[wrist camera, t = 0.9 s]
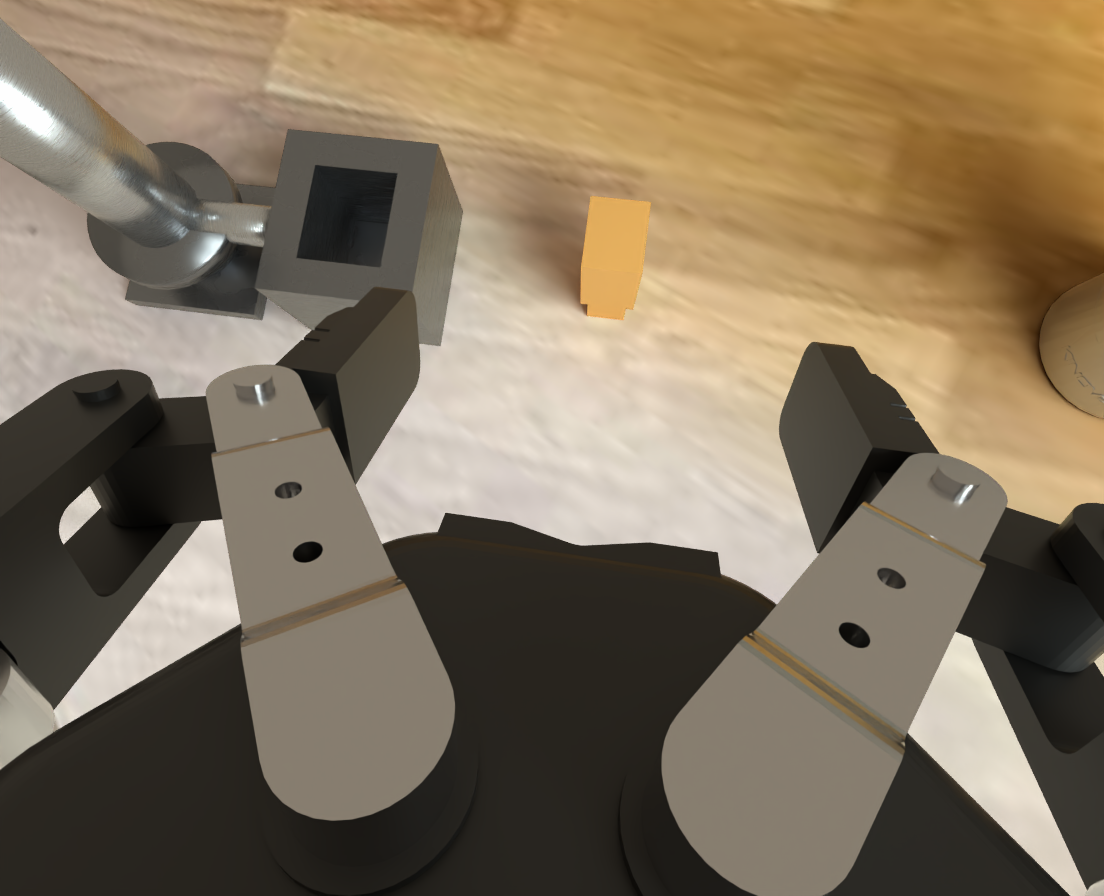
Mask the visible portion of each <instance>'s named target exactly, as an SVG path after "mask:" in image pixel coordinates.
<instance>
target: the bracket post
mask: <svg viewBox="0 0 1104 896" xmlns="http://www.w3.org/2000/svg"><path fill="white" fill-rule="evenodd" d="M0 157H1V158H3V159H5V160H6V161H8V162H9V163H11V164H12V165H14V166H16V167H17V168H19V169H20V170H22V171H23V172H25V173H27V174H28V175H30V176H31V177H33V178H35V179H36V180H38V181H39V182H41V183H42V184H44V185H46V186H47V187H49V188H50V189H52V190H53V191H55V192H57V193H58V194H60V195H61V196H63V197H64V198H66V199H68V200H69V201H71V202H72V203H74V204H75V205H77V206H79V207H80V208H82V209H83V210H85V211H86V212H88V214H87V225H88V233H89V237H90V240H91V243H92V245H93V248H94V249H95V251H96V253H97V255H98V256H99V257H100V258H101V260H102V261H103V262H104V263H105V264H106V265H107V266H108V267H109V268H111V269H112V270H114V271H115V272H117V273H118V274H120V275H122V276H124V277H126V278H128V279H129V280H130V281H129V286H128V290H127V294H126V298H125V300H127V301H129V302H131V303H134V304H136V305H141V306H149V307H157V308H165V309H174V310H182V311H190V312H199V313H207V314H215V315H224V316H232V317H240V318H248V319H257V320H262V319H263V314H264V309H265V304H266V299H267V298H269V299H270V300H271V301H273V302H274V303H275V304H277V305H278V306H280V307H281V308H282V309H284V310H285V311H286V312H288V313H289V314H290V315H292V316H293V317H295V318H296V319H297V320H299V321H300V322H301V323H303V324H304V325H306V326H307V327H308V328H310V329H311V330H315V327H316V326H317V325H318V324H319V323H320V322H321V321H322V320H323V319H324V318H326V317H327V316H328V315H330V314H333V313H335V312H337V311H339V310H342V309H344V308H346V307H354V306H355V305H356V304H357V303H358V302H359V301H360V300H361V299H362V298H363V297H364V296H365V295H366V294H367V293H368V292H369V291H370V290H371V289H372V288H373V287H383V288H391V289H399V290H407V291H411V292H412V293H413V294H414V297H415V301H416V309H417V323H418V337H419V344H428V345H436V346H440V345H441V339H442V333H443V327H444V321H445V315H446V309H447V303H448V297H449V291H450V285H451V279H452V273H453V267H454V261H455V255H456V249H457V243H458V237H459V231H460V225H461V219H462V213H463V210H462V208H461V205H460V202H459V199H458V197H457V194H456V191H455V189H454V186H453V183H452V180H451V178H450V175H449V172H448V169H447V167H446V164H445V161H444V159H443V156H442V153H441V150H440V148H439V145H438V144H432V143H422V142H412V141H402V140H392V139H382V138H371V137H361V136H351V135H341V134H331V133H321V132H311V131H301V130H291V129H288V131H287V136H286V141H285V146H284V150H283V155H282V160H281V165H280V169H279V174H278V179H277V184H276V188H271V187H262V186H252V185H243V184H235V182H234V181H233V179H232V178H231V177H230V176H229V174H228V173H227V172H226V171H225V170H224V169H223V168H222V167H221V166H220V165H219V164H218V163H217V162H216V161H215V160H214V159H213V158H211V157H210V156H209V155H208V154H206V153H205V152H203V151H202V150H200V149H198V148H195V147H193V146H190V145H187V144H183V143H177V142H160V143H153V144H149V145H144V144H143V143H142V142H141V141H140V140H139V139H137V138H136V137H135V136H134V135H133V134H132V133H131V132H129V131H128V130H127V129H126V128H125V127H124V126H123V125H121V124H120V123H119V122H118V121H117V120H116V119H115V118H113V117H112V116H111V115H110V114H109V113H108V112H107V111H105V110H104V109H103V108H102V107H101V106H100V105H99V104H97V103H96V102H95V101H94V100H93V99H92V98H91V97H89V96H88V95H87V94H86V93H85V92H84V91H83V90H81V89H80V88H79V87H78V86H77V85H76V84H75V83H73V82H72V81H71V80H70V79H69V78H68V77H67V76H65V75H64V74H63V73H62V72H61V71H60V70H59V69H57V68H56V67H55V66H54V65H53V64H52V63H51V62H49V61H48V60H47V59H46V58H45V57H44V56H43V55H41V54H40V53H39V52H38V51H37V50H36V49H35V48H33V47H32V46H31V45H30V44H29V43H28V42H27V41H25V40H24V39H23V38H22V37H21V36H20V35H19V34H17V33H16V32H15V31H14V30H13V29H12V28H11V27H9V26H8V25H7V24H6V23H5V22H4V21H3V20H1V19H0Z"/></svg>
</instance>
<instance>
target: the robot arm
mask: <svg viewBox="0 0 1104 896" xmlns="http://www.w3.org/2000/svg"><path fill="white" fill-rule="evenodd" d="M1039 347H1040V354H1041V360H1042V363H1043V365H1044V368H1045V371H1046V373H1047V375H1048V377H1049V378H1050V380H1051V381H1052V383H1053V385H1054V386H1055V388H1056V389H1057V390H1058V391H1059V392H1060V393H1061V394H1062V395H1063V396H1064V397H1065V398H1066V399H1067V400H1068V401H1069V402H1071V403H1072V404H1074V405H1075V406H1076V407H1078V408H1079V409H1081V410H1083V411H1085V412H1087V413H1089V414H1091V415H1094V416H1096V417H1100V418H1104V273H1102V274H1100V275H1098V276H1096V277H1094V278H1092V279H1089V280H1087V281H1085V282H1083V283H1081V284H1079V285H1077V286H1075V287H1073V288H1072V289H1070V290H1068V291H1067V292H1065V293H1064V294H1062V295H1061V296H1060V297H1059V298H1058V299H1057V300H1056V301H1055V302H1054V303H1053V304H1052V306H1051V307H1050V309H1049V311H1048V312H1047V314H1046V315H1045V317H1044V321H1043V324H1042V327H1041V330H1040V341H1039ZM419 373H420V350H419V337H418V323H417V309H416V301H415V297H414V294H413V293H412V292H411V291H407V290H399V289H391V288H383V287H373V288H372V289H371V290H370V291H369V292H368V293H367V294H366V295H365V296H364V297H363V298H362V299H361V300H360V301H359V302H358V303H357V304H356V305H355V306H354V307H346V308H344V309H342V310H339V311H337V312H335V313H333V314H330V315H328V316H327V317H326V318H324V319H323V320H322V321H321V322H320V323H319V324H318V325H317V326H316V327H315V330H312V331H311V332H310V333H308V334H307V335H306V336H305V337H304V340H301V341H300V342H299V343H298V344H297V345H296V346H295V347H294V348H293V349H291V350H290V351H289V352H288V353H287V354H286V355H285V356H284V357H283V358H282V359H281V360H280V361H279V362H278V363H277V364H275V365H254V366H247V367H242V368H238V369H235V370H232V371H229V372H227V373H225V374H223V375H221V376H219V377H218V378H216V379H215V380H213V381H212V382H211V383H210V384H209V386H208V387H207V390H206V396H201V397H182V398H162V399H159V398H158V395H157V393H156V390H155V388H154V385H153V383H152V381H151V379H150V377H148V376H147V375H146V374H144V373H141V372H138V371H133V370H122V369H120V370H105V371H98V372H93V373H89V374H85V375H82V376H78V377H75V378H73V379H70V380H68V381H66V382H64V383H61V384H60V385H58V386H56V387H55V388H53V389H52V390H50V391H49V392H47V393H46V394H44V395H43V396H42V397H40V398H39V399H37V400H36V401H34V402H33V403H31V404H30V405H28V406H27V407H25V408H24V409H23V410H21V411H20V412H18V413H17V414H15V415H14V416H12V417H11V418H9V419H8V420H6V421H5V422H4V423H2V424H1V425H0V896H1070V895H1069V894H1068V893H1067V892H1066V891H1065V890H1064V889H1063V888H1062V887H1061V886H1060V885H1059V884H1058V883H1057V882H1056V881H1055V880H1054V879H1053V878H1052V877H1051V876H1050V875H1049V874H1048V873H1047V872H1046V871H1045V870H1044V869H1043V868H1042V867H1041V866H1040V865H1039V864H1038V863H1037V862H1036V861H1035V860H1034V859H1033V858H1032V857H1031V856H1030V855H1029V854H1028V853H1027V852H1026V851H1025V850H1024V849H1023V848H1022V847H1021V846H1020V845H1019V844H1018V843H1017V842H1016V841H1015V840H1014V839H1013V838H1012V837H1011V836H1010V835H1009V834H1008V833H1007V832H1006V831H1005V830H1004V829H1003V828H1002V827H1001V826H1000V825H999V824H998V823H997V822H996V821H995V820H994V819H993V818H992V817H991V816H990V815H989V814H988V813H987V812H986V811H985V810H984V809H983V808H982V807H981V806H980V805H979V804H978V803H977V802H976V801H975V800H974V799H973V798H972V797H971V796H970V795H969V794H968V793H967V792H966V791H965V790H964V789H963V788H962V787H961V786H960V785H959V784H958V783H957V782H956V781H955V780H954V779H953V778H952V777H951V776H950V775H949V774H948V773H947V772H946V771H945V770H944V769H943V768H942V767H941V766H940V765H939V764H938V763H937V762H936V761H935V760H934V759H933V758H932V757H931V756H930V755H929V754H928V753H927V752H926V751H925V750H924V749H923V748H922V747H921V746H920V745H919V744H918V743H917V742H916V741H915V740H914V739H913V738H912V737H911V736H910V735H909V734H908V733H907V732H908V730H909V727H910V725H911V723H912V721H913V719H914V717H915V715H916V713H917V711H918V709H919V706H920V704H921V702H922V700H923V698H924V696H925V694H926V692H927V690H928V688H929V686H930V683H931V681H932V679H933V677H934V675H935V673H936V671H937V669H938V667H939V665H940V662H941V660H942V658H943V656H944V654H945V652H946V650H947V648H948V646H949V644H950V641H951V639H952V637H953V635H954V633H955V632H958V633H960V634H963V635H966V636H968V637H971V638H972V640H973V643H974V646H975V648H976V650H977V652H978V654H979V656H980V659H981V661H982V663H983V665H984V667H985V669H986V672H987V674H988V676H989V678H990V680H991V682H992V685H993V687H994V689H995V691H996V693H997V696H998V698H999V700H1000V702H1001V704H1002V706H1003V709H1004V711H1005V713H1006V715H1007V717H1008V719H1009V722H1010V724H1011V726H1012V728H1013V730H1014V732H1015V735H1016V737H1017V739H1018V741H1019V743H1020V745H1021V748H1022V750H1023V752H1024V754H1025V756H1026V758H1027V761H1028V763H1029V765H1030V767H1031V769H1032V772H1033V774H1034V776H1035V778H1036V780H1037V782H1038V785H1039V787H1040V789H1041V791H1042V793H1043V795H1044V798H1045V800H1046V802H1047V804H1048V806H1049V808H1050V811H1051V813H1052V815H1053V817H1054V819H1055V821H1056V824H1057V826H1058V828H1059V830H1060V832H1061V834H1062V837H1063V839H1064V841H1065V843H1066V845H1067V848H1068V850H1069V852H1070V854H1071V856H1072V858H1073V861H1074V863H1075V865H1076V867H1077V869H1078V871H1079V874H1080V876H1081V878H1082V880H1083V882H1084V884H1085V887H1086V889H1087V892H1086V894H1085V896H1104V677H1103V675H1102V674H1101V672H1100V670H1099V669H1098V667H1097V666H1096V664H1095V663H1094V661H1095V660H1096V659H1097V658H1098V657H1100V656H1101V655H1102V654H1103V653H1104V504H1099V503H1085V504H1081V505H1078V506H1077V507H1075V508H1074V509H1073V511H1072V512H1071V513H1070V514H1069V515H1068V516H1067V518H1066V519H1065V520H1064V521H1063V522H1062V523H1061V524H1056V523H1053V522H1050V521H1047V520H1044V519H1041V518H1038V517H1035V516H1031V515H1028V514H1025V513H1022V512H1019V511H1016V510H1013V509H1010V508H1007V507H1006V506H1007V502H1008V500H1007V495H1006V493H1005V491H1004V490H1003V488H1002V487H1001V486H1000V485H999V484H998V483H997V482H996V481H995V480H994V479H993V478H992V477H991V476H989V475H988V474H986V473H985V472H983V471H982V470H980V469H978V468H977V467H975V466H973V465H971V464H969V463H967V462H964V461H962V460H959V459H956V458H953V457H950V456H946V455H942V454H939V452H938V451H937V449H936V448H935V446H934V445H933V443H932V442H931V440H930V439H929V437H928V436H927V435H926V433H925V432H924V430H923V429H922V427H921V426H920V424H919V423H918V422H916V421H915V417H914V415H913V414H912V412H911V411H910V410H909V408H906V406H907V405H906V404H905V402H904V401H903V399H902V398H901V396H900V395H899V393H898V392H897V390H896V389H895V388H893V387H892V386H891V385H889V384H888V383H887V382H885V381H884V380H883V379H881V378H880V377H878V376H877V375H876V374H871V373H870V372H869V370H868V368H867V367H866V365H865V364H864V362H863V361H862V359H861V357H860V356H859V354H858V353H857V351H856V350H855V348H854V347H851V346H843V345H835V344H827V343H819V342H812V343H811V344H809V346H808V347H807V348H806V350H805V352H804V354H803V357H802V360H801V362H800V365H799V367H798V370H797V373H796V375H795V378H794V380H793V383H792V386H791V388H790V391H789V393H788V396H787V399H786V401H785V404H784V406H783V409H782V413H781V417H780V424H779V435H780V440H781V443H782V446H783V449H784V452H785V455H786V458H787V462H788V465H789V468H790V471H791V474H792V477H793V480H794V483H795V486H796V489H797V492H798V495H799V498H800V502H801V505H802V508H803V511H804V514H805V517H806V520H807V523H808V526H809V529H810V532H811V535H812V538H813V542H814V545H815V548H816V551H817V553H820V554H819V555H818V556H817V558H816V559H815V560H814V561H813V562H812V564H811V565H810V566H809V567H808V568H807V570H806V571H805V572H804V573H803V574H802V576H801V577H800V578H799V579H798V580H797V582H796V583H795V584H794V585H793V586H792V587H791V589H790V590H789V591H788V592H787V593H786V595H785V596H784V597H783V598H782V599H781V601H780V602H779V603H778V604H775V603H774V602H773V601H771V600H770V599H768V598H767V597H765V596H764V595H762V594H761V593H759V592H758V591H756V590H754V589H752V588H751V587H749V586H747V585H745V584H743V583H741V582H739V581H737V580H734V579H732V578H730V577H727V576H725V575H722V574H721V573H720V566H719V558H718V552H711V551H704V550H697V549H691V548H684V547H677V546H670V545H663V544H656V543H629V544H609V545H588V546H580V545H575V544H571V543H568V542H565V541H563V540H560V539H557V538H554V537H551V536H548V535H546V534H543V533H540V532H537V531H534V530H531V529H529V528H526V527H523V526H520V525H517V524H514V523H512V522H506V521H499V520H492V519H485V518H478V517H471V516H465V515H458V514H451V513H445V515H444V518H443V520H442V523H441V525H440V528H439V530H438V532H432V533H423V534H416V535H411V536H407V537H403V538H398V539H395V540H392V541H389V542H386V543H383V544H382V543H381V541H380V539H379V537H378V534H377V532H376V530H375V528H374V526H373V523H372V521H371V519H370V517H369V514H368V512H367V510H366V508H365V505H364V503H363V501H362V499H361V496H360V494H359V492H358V490H357V488H356V483H357V482H358V480H359V478H360V477H361V475H362V474H363V472H364V470H365V469H366V467H367V465H368V464H369V462H370V461H371V459H372V457H373V456H374V454H375V453H376V451H377V449H378V448H379V446H380V444H381V443H382V441H383V440H384V438H385V436H386V435H387V433H388V432H389V430H390V428H391V427H392V425H393V423H394V422H395V420H396V419H397V417H398V415H399V414H400V412H401V410H402V409H403V407H404V406H405V404H406V402H407V401H408V399H409V398H410V396H411V394H412V393H413V391H414V389H415V388H416V385H417V382H418V378H419ZM89 486H90V487H91V489H92V491H93V493H94V494H95V496H96V498H97V500H98V502H99V503H100V505H101V508H100V509H99V510H98V511H97V512H96V513H95V514H94V515H93V516H92V517H91V518H90V519H89V520H88V521H87V522H86V523H85V524H84V525H83V526H82V527H81V528H80V529H79V530H78V531H77V532H76V533H75V534H74V535H73V536H72V537H71V538H70V539H69V540H68V541H67V542H66V543H65V544H64V545H63V543H62V541H61V539H60V535H59V524H60V520H61V517H62V515H63V513H64V511H65V509H66V508H67V507H68V506H69V505H70V503H72V502H73V501H74V500H75V499H76V498H77V497H78V496H79V495H80V494H81V493H82V492H83V491H85V490H86V489H87V488H88V487H89ZM219 519H223V525H224V530H225V536H226V541H227V547H228V553H229V558H230V564H231V569H232V575H233V581H234V586H235V592H236V597H237V603H238V609H239V614H240V620H241V624H239V625H237V626H236V627H234V628H232V629H231V630H229V631H227V632H225V633H224V634H222V635H220V636H218V637H217V638H215V639H213V640H212V641H210V642H208V643H206V644H205V645H203V646H201V647H199V648H198V649H196V650H194V651H193V652H191V653H189V654H187V655H186V656H184V657H182V658H181V659H179V660H177V661H175V662H174V663H172V664H170V665H168V666H167V667H165V668H163V669H162V670H160V671H158V672H156V673H155V674H153V675H151V676H149V677H148V678H146V679H144V680H143V681H141V682H139V683H137V684H136V685H134V686H132V687H131V688H129V689H127V690H125V691H124V692H122V693H120V694H118V695H117V696H115V697H113V698H112V699H110V700H108V701H106V702H105V703H103V704H101V705H99V706H98V707H96V708H94V709H93V710H91V711H89V712H87V713H86V714H84V715H82V716H81V717H79V718H77V719H75V720H74V721H72V722H70V723H68V724H67V725H65V726H63V727H62V728H60V729H58V730H56V731H55V732H53V728H54V724H55V714H54V711H53V710H54V709H55V708H56V707H57V705H58V704H59V703H60V702H61V700H62V699H63V698H64V696H65V695H66V694H67V693H68V691H69V690H70V689H71V688H72V686H73V685H74V684H75V682H76V681H77V680H78V679H79V677H80V676H81V675H82V674H83V672H84V671H85V670H86V668H87V667H88V666H89V665H90V663H91V662H92V661H93V660H94V658H95V657H96V656H97V654H98V653H99V652H100V651H101V649H102V648H103V647H104V646H105V644H106V643H107V642H108V640H109V639H110V638H111V637H112V635H113V634H114V633H115V631H116V630H117V629H118V628H119V626H120V625H121V624H122V623H123V621H124V620H125V619H126V617H127V616H128V615H129V614H130V612H131V611H132V610H133V609H134V607H135V606H136V605H137V603H138V602H139V601H140V600H141V598H142V597H143V596H144V595H145V593H146V592H147V591H148V589H149V588H150V587H151V586H152V584H153V583H154V582H155V581H156V579H157V578H158V577H159V575H160V574H161V573H162V572H163V570H164V569H165V568H166V567H167V565H168V564H169V563H170V561H171V560H172V559H173V558H174V556H175V555H176V554H177V553H178V551H179V550H180V549H181V547H182V546H183V545H184V544H185V542H186V541H187V540H188V538H189V537H190V536H191V535H192V533H193V532H194V531H195V530H196V528H197V527H198V526H199V524H200V523H201V521H208V520H219ZM52 732H53V733H52Z"/></svg>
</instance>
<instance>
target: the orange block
mask: <svg viewBox="0 0 1104 896" xmlns="http://www.w3.org/2000/svg"><path fill="white" fill-rule="evenodd" d="M650 206H651V202H645V201H635V200H625V199H615V198H606V197H596V196H591V198H590V205H589V212H588V220H587V227H586V234H585V241H584V249H583V256H582V263H581V303H580V304H588V306H587V316H592V317H601V318H610V319H618V320H623V319H624V315H625V310H626V309H632V310H633V308H634V304H635V300H636V296H637V292H638V288H639V284H640V280H641V277H642V271H643V263H644V255H645V247H646V239H647V231H648V223H649V215H650Z"/></svg>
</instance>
